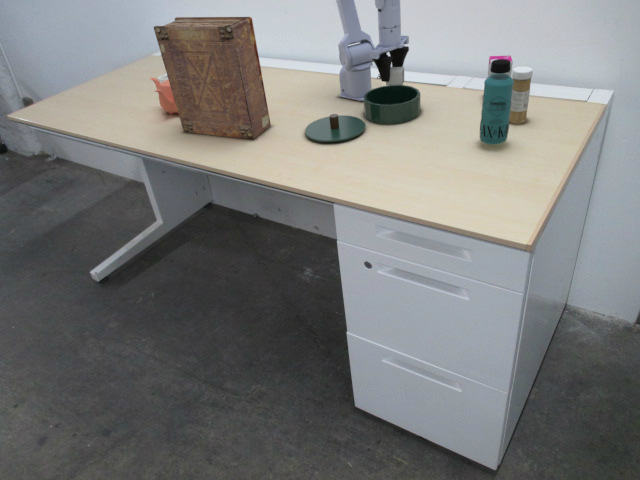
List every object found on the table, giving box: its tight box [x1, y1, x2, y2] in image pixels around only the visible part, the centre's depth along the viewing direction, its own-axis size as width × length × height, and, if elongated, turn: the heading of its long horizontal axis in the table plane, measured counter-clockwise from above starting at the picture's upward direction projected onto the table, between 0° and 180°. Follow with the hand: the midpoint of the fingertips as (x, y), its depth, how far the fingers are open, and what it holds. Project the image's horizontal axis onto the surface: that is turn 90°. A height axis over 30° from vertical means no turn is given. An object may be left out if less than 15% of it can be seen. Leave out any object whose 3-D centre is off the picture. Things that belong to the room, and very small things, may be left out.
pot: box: [363, 84, 421, 125], centre depth 144 cm, size 15×15×5 cm
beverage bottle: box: [479, 59, 514, 145], centre depth 117 cm, size 6×7×20 cm
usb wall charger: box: [376, 66, 405, 86], centre depth 139 cm, size 4×7×4 cm, turn 74°
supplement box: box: [486, 55, 514, 79], centre depth 141 cm, size 6×6×12 cm
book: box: [153, 16, 272, 140], centre depth 141 cm, size 25×9×30 cm, turn 64°
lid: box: [304, 113, 366, 143], centre depth 139 cm, size 16×16×4 cm
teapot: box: [149, 77, 178, 115], centre depth 164 cm, size 14×14×11 cm
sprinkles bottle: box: [509, 66, 534, 125], centre depth 128 cm, size 5×5×14 cm
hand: (391, 77), depth 140 cm, fingers closed on usb wall charger, 5 cm apart
